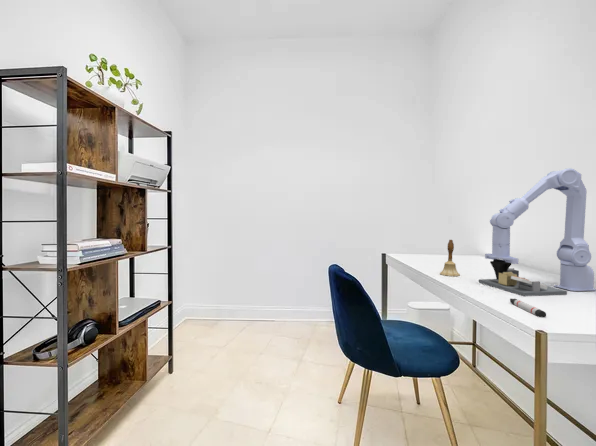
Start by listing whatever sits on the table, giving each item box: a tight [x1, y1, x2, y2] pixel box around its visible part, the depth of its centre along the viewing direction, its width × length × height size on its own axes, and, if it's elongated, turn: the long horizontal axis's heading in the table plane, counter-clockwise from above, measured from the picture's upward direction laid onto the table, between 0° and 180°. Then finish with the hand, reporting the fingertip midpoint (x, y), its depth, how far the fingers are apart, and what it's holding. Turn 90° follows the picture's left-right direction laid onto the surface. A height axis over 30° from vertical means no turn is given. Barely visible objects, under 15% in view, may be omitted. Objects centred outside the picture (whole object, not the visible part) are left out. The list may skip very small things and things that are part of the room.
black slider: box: [507, 267, 520, 277], centre depth 128 cm, size 4×4×5 cm
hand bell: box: [439, 239, 461, 277], centre depth 147 cm, size 8×8×16 cm
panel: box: [478, 277, 568, 297], centre depth 121 cm, size 16×22×5 cm
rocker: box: [511, 276, 548, 290], centre depth 113 cm, size 10×5×1 cm, turn 98°
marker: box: [509, 298, 547, 318], centre depth 94 cm, size 15×2×2 cm, turn 175°
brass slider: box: [499, 272, 517, 286], centre depth 120 cm, size 4×4×5 cm
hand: (500, 279), depth 124 cm, fingers closed
